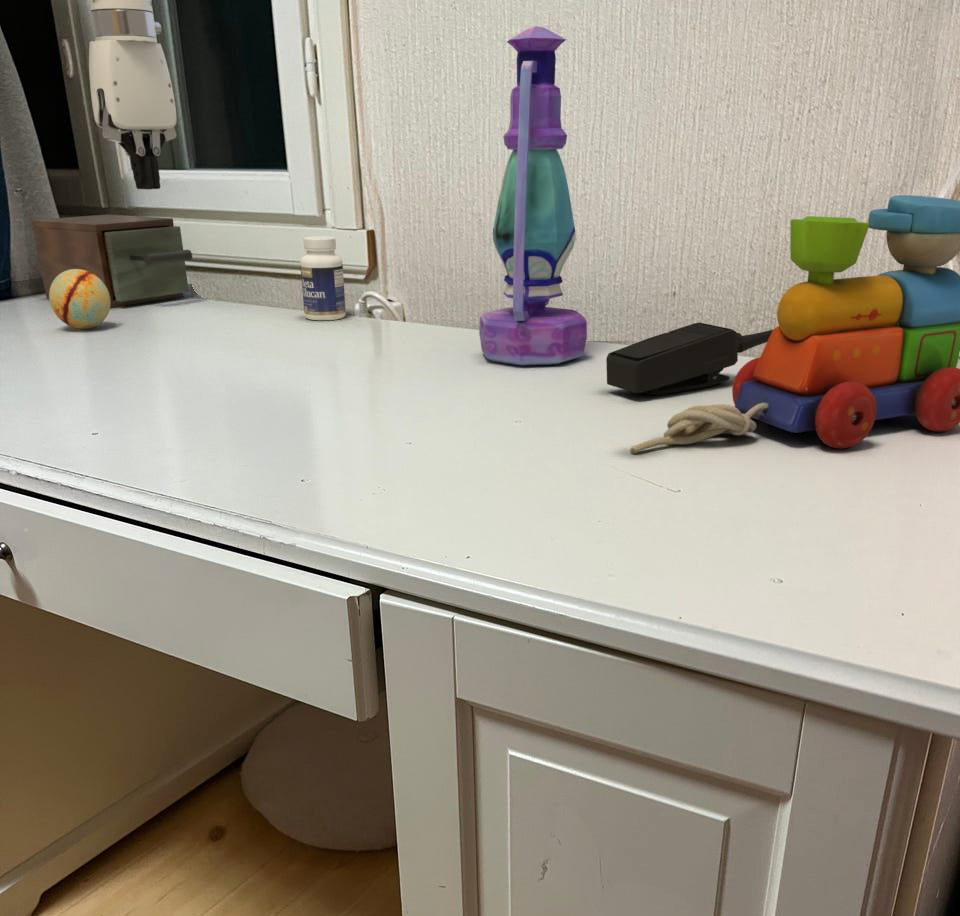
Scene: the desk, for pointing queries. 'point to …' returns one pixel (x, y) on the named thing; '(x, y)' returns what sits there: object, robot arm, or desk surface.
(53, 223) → the cabinet
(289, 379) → the desk surface
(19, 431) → the desk surface
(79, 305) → the ball
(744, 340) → the walkie-talkie
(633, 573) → the desk surface
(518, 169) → the lantern
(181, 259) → the drawer
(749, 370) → the toy train
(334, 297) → the pill bottle
